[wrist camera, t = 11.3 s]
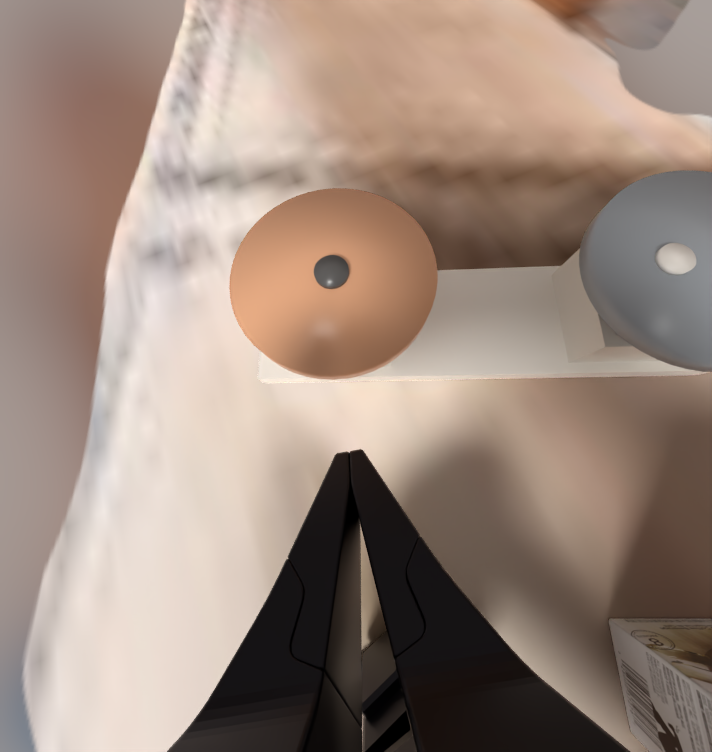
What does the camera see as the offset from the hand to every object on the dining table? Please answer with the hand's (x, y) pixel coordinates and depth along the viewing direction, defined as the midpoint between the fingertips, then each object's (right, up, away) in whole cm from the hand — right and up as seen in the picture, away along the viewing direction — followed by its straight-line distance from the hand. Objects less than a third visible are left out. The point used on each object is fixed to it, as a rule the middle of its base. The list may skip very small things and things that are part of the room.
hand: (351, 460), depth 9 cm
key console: (+9, +7, +15) cm, 19 cm away
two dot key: (+20, +7, +12) cm, 24 cm away
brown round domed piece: (-1, +7, +13) cm, 15 cm away
